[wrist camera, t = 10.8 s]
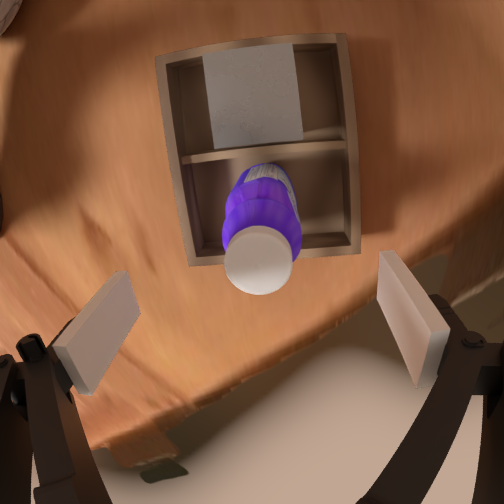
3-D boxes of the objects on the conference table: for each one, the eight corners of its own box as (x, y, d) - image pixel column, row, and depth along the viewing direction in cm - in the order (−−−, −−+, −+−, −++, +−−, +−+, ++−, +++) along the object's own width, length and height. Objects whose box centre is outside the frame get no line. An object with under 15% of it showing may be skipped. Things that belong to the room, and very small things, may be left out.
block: (228, 142, 33) (214, 148, 26) (218, 66, 30) (202, 54, 23) (298, 135, 32) (303, 139, 25) (289, 58, 29) (292, 42, 22)
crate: (199, 248, 39) (188, 266, 34) (170, 63, 30) (154, 57, 26) (351, 236, 37) (360, 253, 32) (336, 44, 28) (345, 33, 24)
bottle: (303, 217, 36) (320, 303, 20) (254, 232, 37) (233, 324, 21) (283, 154, 33) (286, 190, 17) (232, 171, 34) (189, 221, 18)
